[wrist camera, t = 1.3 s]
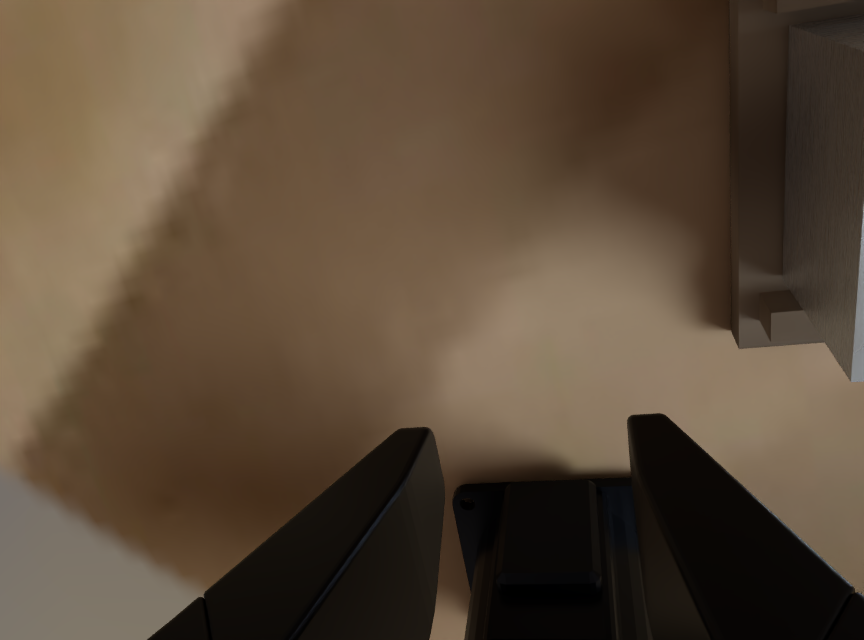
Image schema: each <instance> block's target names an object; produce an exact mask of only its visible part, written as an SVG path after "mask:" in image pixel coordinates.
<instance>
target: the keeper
mask: <svg viewBox="0 0 864 640" xmlns="http://www.w3.org/2000/svg"><path fill="white" fill-rule="evenodd" d="M782 279H783V280H784V282H785V283H786V285H787V286H788V288H789V289H790V291H791V292H792V294H793V295H794V297H795V298H796V300H797V301H798V303H799V304H800V306H801V307H802V309H803V310H804V312H805V313H806V315H807V317H808V318H809V320H810V321H811V323H812V324H813V326H814V327H815V329H816V330H817V332H818V333H819V335H820V336H821V338H822V339H823V341H824V342H825V344H826V345H827V347H828V348H829V350H830V351H831V353H832V354H833V356H834V357H835V359H836V360H837V362H838V363H839V365H840V366H841V368H842V369H843V371H844V372H845V374H846V375H847V377H848V379H849V380H850V382H861V381H864V13H862V14H856V15H850V16H844V17H838V18H832V19H826V20H820V21H814V22H807V23H801V24H795V25H789V41H788V81H787V120H786V160H785V199H784V239H783V278H782Z"/></svg>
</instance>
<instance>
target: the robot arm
mask: <svg viewBox="0 0 864 640" xmlns="http://www.w3.org/2000/svg"><path fill="white" fill-rule="evenodd" d="M627 429H628V442H629V455H630V468H631V477H629V478H605V479H580V480H556V481H531V482H507V483H482V484H465V485H461V486H459V487H458V488H457V489H456V490H455V492H454V496H453V509H454V514H455V519H456V524H457V528H458V533H459V538H460V543H461V548H462V552H463V557H464V562H465V567H466V572H467V576H468V581H469V586H470V591H471V597H470V604H469V611H468V618H467V624H466V631H465V638H464V640H864V596H863V595H862V594H861V593H858V592H856V593H855V589H854V587H853V586H852V585H851V584H850V583H849V582H848V581H847V580H845V579H844V578H843V577H842V576H841V575H840V574H839V573H838V572H837V571H836V570H835V569H833V568H832V567H831V566H830V565H829V564H828V563H827V562H826V561H825V560H824V559H822V558H821V557H820V556H819V555H818V554H817V553H816V552H815V551H814V550H813V549H812V548H810V547H809V546H808V545H807V544H806V543H805V542H804V541H803V540H802V539H801V538H800V537H798V536H797V535H796V534H795V533H794V532H793V531H792V530H791V529H790V528H789V527H787V526H786V525H785V524H784V523H783V522H782V521H781V520H780V519H779V518H778V517H777V516H775V515H774V514H773V513H772V512H771V511H770V510H769V509H768V508H767V507H766V506H764V505H763V504H762V503H761V502H760V501H759V500H758V499H757V498H756V497H755V496H754V495H752V494H751V493H750V492H749V491H748V490H747V489H746V488H745V487H744V486H743V485H741V484H740V483H739V482H738V481H737V480H736V479H735V478H734V477H733V476H732V475H731V474H729V473H728V472H727V471H726V470H725V469H724V468H723V467H722V466H721V465H720V464H718V463H717V462H716V461H715V460H714V459H713V458H712V457H711V456H710V455H709V454H708V453H706V452H705V451H704V450H703V449H702V448H701V447H700V446H699V445H698V444H697V443H696V442H694V441H693V440H692V439H691V438H690V437H689V436H688V435H687V434H686V433H685V432H683V431H682V430H681V429H680V428H679V427H678V426H677V425H676V424H675V423H674V422H673V421H671V420H670V419H669V418H668V417H667V416H666V415H664V414H661V413H656V414H640V415H631V416H630V417H629V418H628V419H627ZM464 498H469V499H472V500H473V501H474V502H466V501H464V500H463V499H464ZM444 504H445V487H444V479H443V474H442V470H441V465H440V460H439V455H438V451H437V446H436V441H435V437H434V434H433V432H432V431H431V429H430V428H428V427H417V428H401V429H398V430H397V431H395V432H394V433H393V434H392V435H390V436H389V437H388V438H387V439H386V440H384V441H383V442H382V443H381V444H380V445H378V446H377V447H376V448H375V449H374V450H373V451H371V452H370V453H369V454H368V455H367V456H365V457H364V458H363V459H362V460H361V461H360V462H358V463H357V464H356V465H355V466H354V467H352V468H351V469H350V470H349V471H348V472H346V473H345V474H344V475H343V476H342V477H341V478H339V479H338V480H337V481H336V482H335V483H333V484H332V485H331V486H330V487H329V488H328V489H326V490H325V491H324V492H323V493H322V494H320V495H319V496H318V497H317V498H316V499H315V500H313V501H312V502H311V503H310V504H309V505H307V506H306V507H305V508H304V509H303V510H301V511H300V512H299V513H298V514H297V515H296V516H294V517H293V518H292V519H291V520H290V521H288V522H287V523H286V524H285V525H284V526H283V527H281V528H280V529H279V530H278V531H277V532H275V533H274V534H273V535H272V536H271V537H269V538H268V539H267V540H266V541H265V542H264V543H262V544H261V545H260V546H259V547H258V548H256V549H255V550H254V551H253V552H252V553H251V554H249V555H248V556H247V557H246V558H245V559H243V560H242V561H241V562H240V563H239V564H237V565H236V566H235V567H234V568H233V569H232V570H230V571H229V572H228V573H227V574H226V575H224V576H223V577H222V578H221V579H220V580H218V581H217V582H216V583H215V584H214V585H213V586H211V587H210V588H209V589H208V590H207V591H205V593H204V598H203V597H198V598H197V599H196V600H194V601H193V602H192V603H191V604H190V605H189V606H187V607H186V608H185V609H184V610H183V611H181V612H180V613H179V614H178V615H177V616H176V617H175V618H173V619H172V620H171V621H170V622H169V623H167V624H166V625H165V626H163V627H162V628H161V629H160V630H158V631H157V632H156V633H155V634H153V635H152V636H151V637H150V638H149V639H147V640H429V638H430V634H431V629H432V623H433V617H434V612H435V603H436V594H437V584H438V572H439V561H440V549H441V538H442V527H443V515H444Z"/></svg>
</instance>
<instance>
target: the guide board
mask: <svg viewBox="0 0 864 640" xmlns="http://www.w3.org/2000/svg"><path fill="white" fill-rule="evenodd" d="M862 13H864V0H729V29H730V182H731V332H732V334H733V336H734V339H735V341H736V343H737V345H738V348H739V349H743V348H757V347H770V346H783V345H796V344H810V343H823V342H824V341H823V339H822V338H821V336H820V335H819V333H818V332H817V330H816V329H815V327H814V326H813V324H812V323H811V321H810V320H809V318H808V317H807V315H806V313H805V312H804V310H803V309H802V307H801V306H800V304H799V303H798V301H797V300H796V298H795V297H794V295H793V294H792V292H791V291H790V289H789V288H788V286H787V285H786V283H785V282H784V280H783V279H782V278H783V239H784V199H785V160H786V120H787V81H788V41H789V25H795V24H801V23H807V22H814V21H820V20H826V19H832V18H838V17H844V16H850V15H856V14H862Z"/></svg>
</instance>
